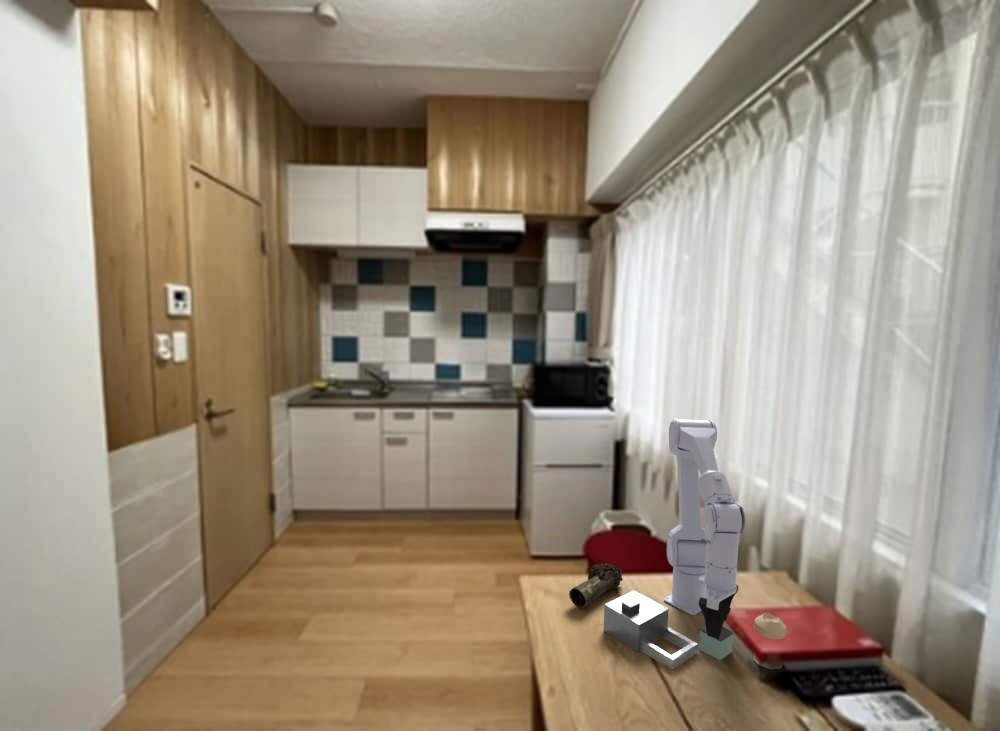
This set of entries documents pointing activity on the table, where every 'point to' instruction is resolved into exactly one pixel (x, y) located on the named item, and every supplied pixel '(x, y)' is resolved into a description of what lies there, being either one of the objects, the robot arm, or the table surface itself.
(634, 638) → the silver box with frame
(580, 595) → the olive hollow tube
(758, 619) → the candle
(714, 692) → the table surface
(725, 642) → the mint cube
